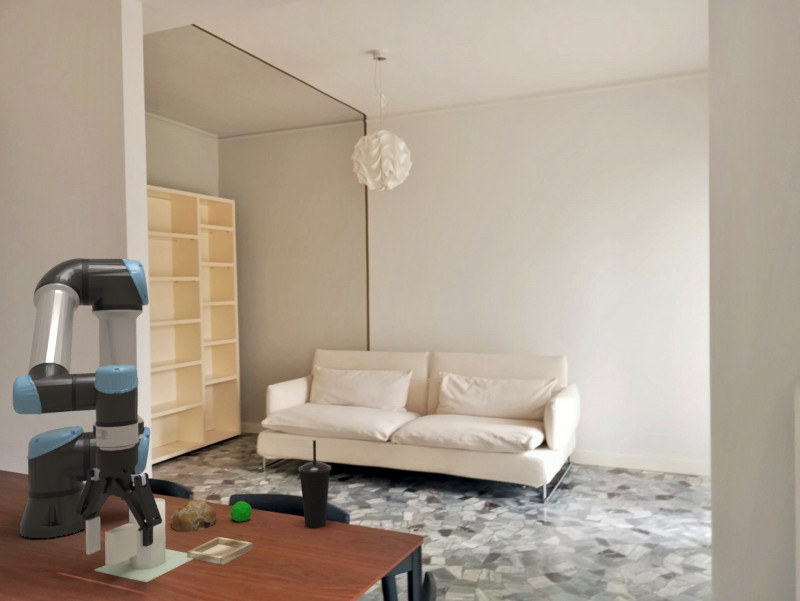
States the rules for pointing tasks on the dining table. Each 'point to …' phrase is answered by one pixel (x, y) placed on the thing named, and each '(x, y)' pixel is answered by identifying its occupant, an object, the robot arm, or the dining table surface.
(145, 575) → the plate
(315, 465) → the drinking cup
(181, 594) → the dining table surface
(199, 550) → the holder
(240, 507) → the polyhedron
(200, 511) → the bread roll
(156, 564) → the white cylinder with tab
